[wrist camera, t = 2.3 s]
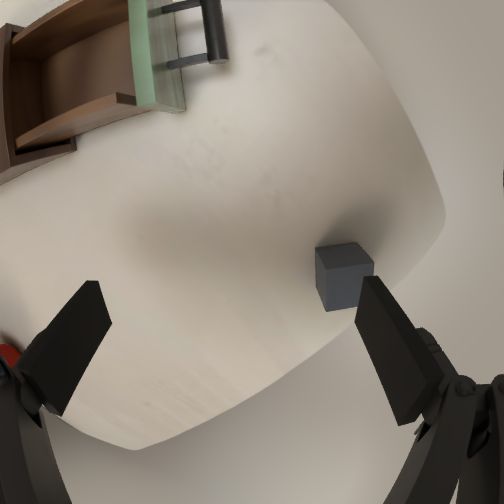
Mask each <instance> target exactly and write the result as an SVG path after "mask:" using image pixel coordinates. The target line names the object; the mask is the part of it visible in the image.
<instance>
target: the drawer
mask: <svg viewBox="0 0 504 504" xmlns="http://www.w3.org/2000/svg"><path fill="white" fill-rule="evenodd" d="M198 6H201V9H202V17H203V24H204V32H205V39H206V46H207V53H203V54H198V55H193V56H188V57H184V58H180V59H179V58H178V50H177V42H176V33H175V23H174V13H173V12H176V11H180V10H184V9H189V8H193V7H198ZM228 61H229V53H228V46H227V40H226V33H225V26H224V20H223V13H222V6H221V0H185V1H181V2H177V3H172V0H69V1H67V2H65V3H64V4H62V5H60V6H59V7H57V8H55V9H54V10H52V11H50V12H49V13H47V14H46V15H44V16H42V17H41V18H39V19H38V20H36V21H35V22H33V23H32V24H31V25H29V26H28V27H26V28H25V29H24V30H22V31H21V32H20V33H18V34H17V35H16V36H14V37H13V38H12V39H11V43H10V57H9V100H10V115H11V126H12V135H13V143H14V149H15V155H18V154H22V153H26V152H30V151H35V150H39V149H44V148H48V147H51V146H53V145H55V144H57V143H60V142H62V141H64V140H66V139H69V138H71V137H74V136H76V135H79V134H81V133H84V132H86V131H89V130H92V129H94V128H97V127H100V126H103V125H105V124H108V123H111V122H114V121H117V120H120V119H124V118H127V117H130V116H133V115H137V114H140V113H144V112H147V111H151V110H156V111H161V112H166V113H171V114H173V113H177V112H182V111H185V110H186V109H185V103H184V96H183V89H182V81H181V74H180V68H182V67H186V66H191V65H195V64H200V63H206V62H209V64H222V63H225V62H228Z"/></svg>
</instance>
